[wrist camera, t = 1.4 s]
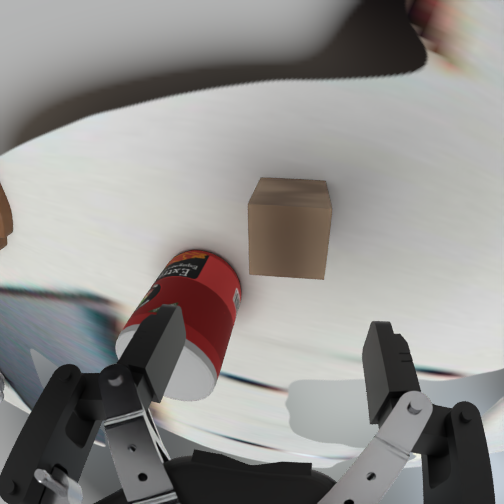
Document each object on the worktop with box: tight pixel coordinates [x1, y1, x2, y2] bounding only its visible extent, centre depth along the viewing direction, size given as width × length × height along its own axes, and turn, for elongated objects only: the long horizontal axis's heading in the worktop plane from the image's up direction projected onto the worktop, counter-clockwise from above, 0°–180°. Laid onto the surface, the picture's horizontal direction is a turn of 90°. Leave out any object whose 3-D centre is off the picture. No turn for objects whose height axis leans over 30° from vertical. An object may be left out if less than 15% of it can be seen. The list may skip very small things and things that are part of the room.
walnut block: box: [248, 178, 332, 280], centre depth 21 cm, size 5×5×6 cm
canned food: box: [115, 250, 241, 401], centre depth 24 cm, size 8×8×11 cm
